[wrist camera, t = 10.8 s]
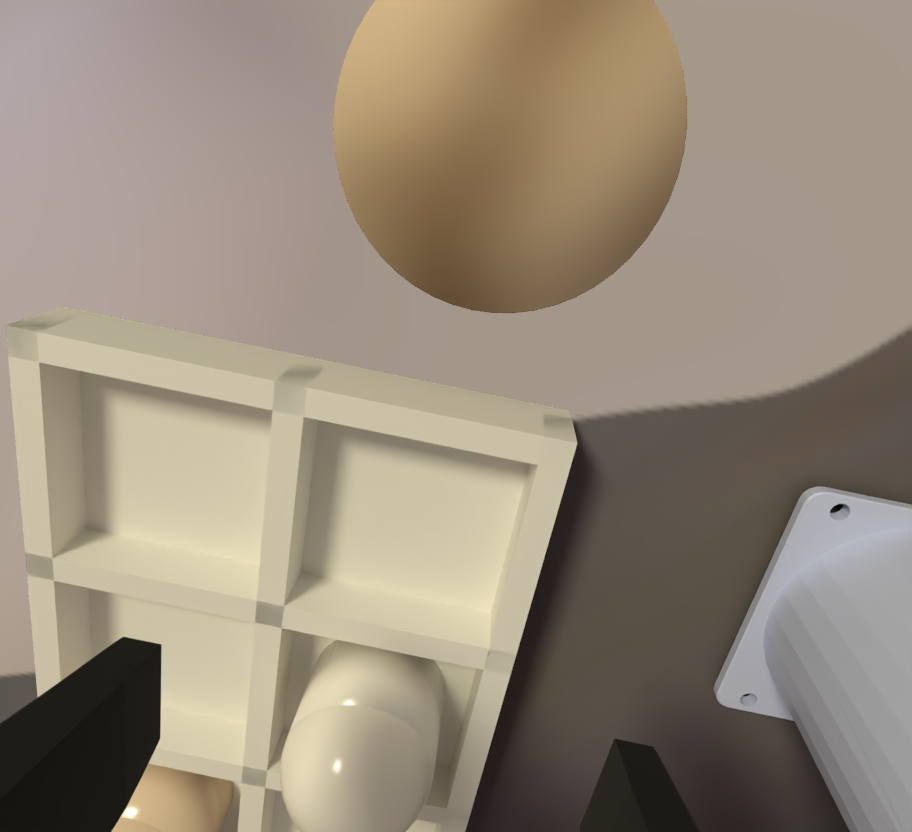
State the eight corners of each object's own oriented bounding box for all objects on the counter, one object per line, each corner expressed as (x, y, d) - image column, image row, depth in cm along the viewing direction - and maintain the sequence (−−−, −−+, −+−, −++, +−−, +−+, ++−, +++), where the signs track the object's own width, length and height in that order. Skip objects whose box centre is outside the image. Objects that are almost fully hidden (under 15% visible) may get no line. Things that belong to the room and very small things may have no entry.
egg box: (569, 410, 18) (577, 443, 16) (437, 887, 26) (430, 950, 24) (63, 306, 18) (5, 325, 16) (89, 815, 26) (53, 870, 24)
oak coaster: (728, -21, 14) (740, -31, 13) (622, 333, 17) (627, 342, 16) (364, -95, 14) (356, -109, 13) (325, 273, 17) (316, 277, 16)
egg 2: (455, 646, 20) (438, 796, 16) (432, 744, 22) (410, 907, 17) (321, 618, 20) (262, 759, 16) (307, 718, 22) (251, 874, 17)
